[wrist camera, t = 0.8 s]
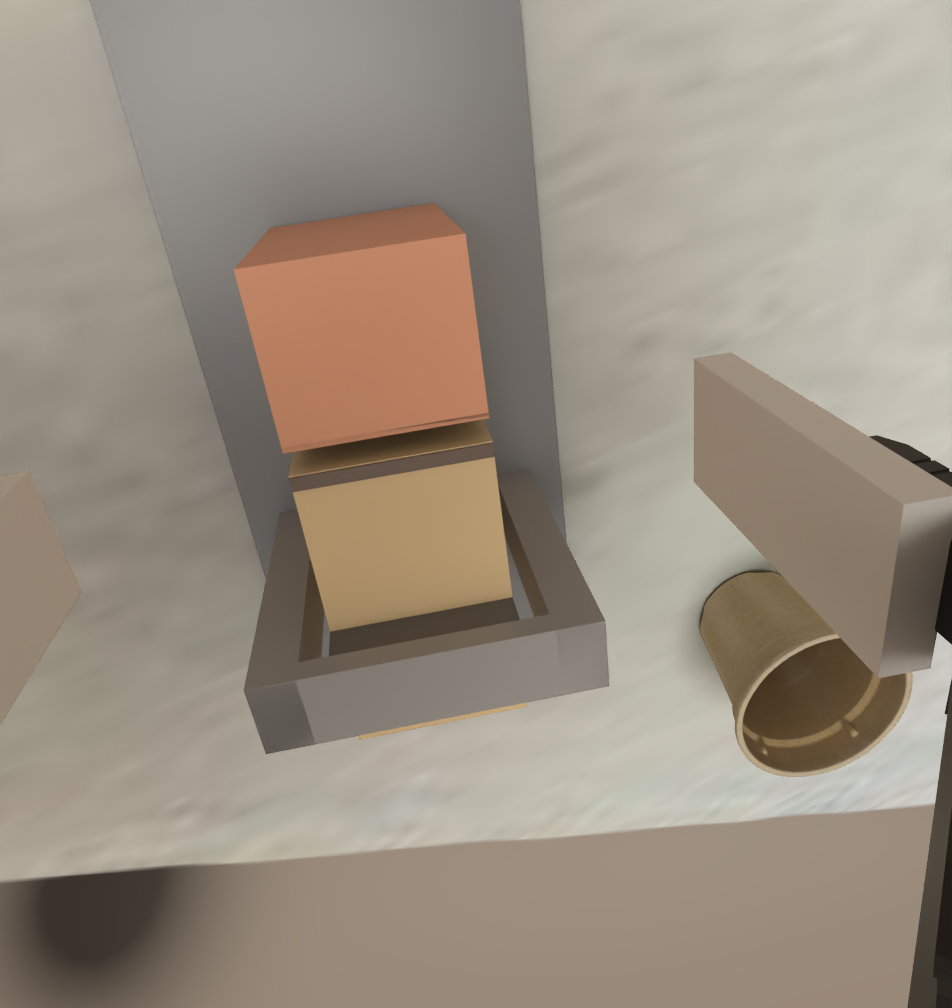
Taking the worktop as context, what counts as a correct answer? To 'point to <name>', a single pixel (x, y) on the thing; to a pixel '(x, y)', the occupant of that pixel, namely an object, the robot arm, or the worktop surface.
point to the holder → (394, 458)
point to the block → (364, 326)
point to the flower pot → (795, 680)
